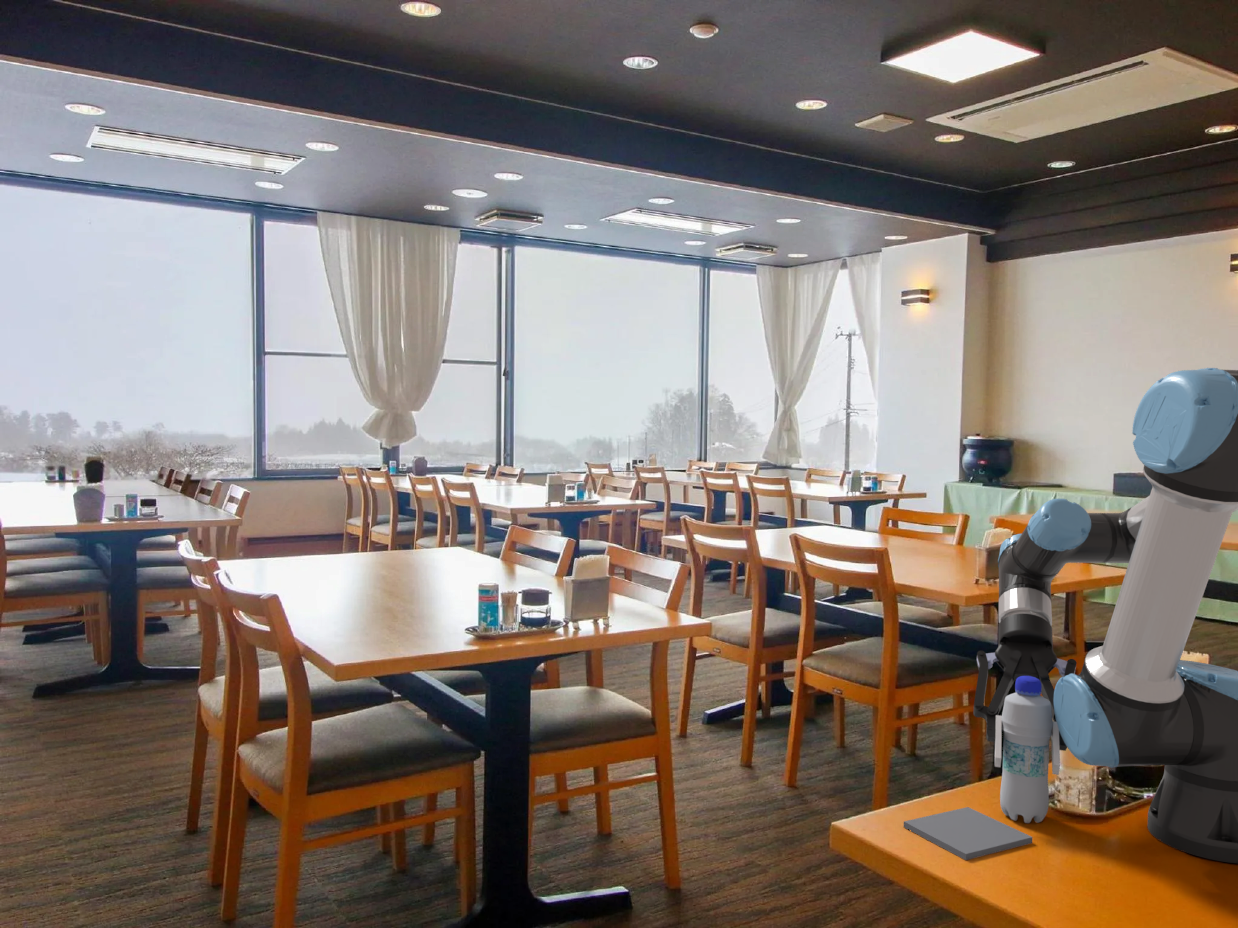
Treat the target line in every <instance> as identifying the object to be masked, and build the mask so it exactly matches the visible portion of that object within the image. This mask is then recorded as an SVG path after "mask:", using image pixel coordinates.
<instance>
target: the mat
mask: <svg viewBox="0 0 1238 928" xmlns="http://www.w3.org/2000/svg"><path fill="white" fill-rule="evenodd" d="M904 827H905V829H907V830H908V829H909V830H908V831H910V830H911V831H910V832H911V833H913V832H914V833H913V834H915V833H916V835H917V834H918V836H919V835H920V836H919V837H921V838H923V839H925V840H926V841H928V842H930V841H931V843H933V844H934V845H936V846H938V847H940V848H941V849H943V850H946V851H948V852H950V853H952V854H953V855H955V856H957V857H959V858H961V859H962V860H964V861H969V860H973V859H975V858H979V857H985V856H987V855H991V854H995V853H1000V852H1004V851H1006V850H1007V851H1008V850H1011V849H1014V848H1018V847H1022V846H1026V845H1030V844H1033V836H1031V835H1029V834H1027V833H1025V832H1022V831H1020V830H1018V829H1016V828H1014V827H1011V826H1009V825H1007V824H1005V823H1003V822H1001V821H999V820H997V819H995V818H993V817H991V816H988V815H986V814H984V813H982V812H980V811H977V810H976V809H973V808H971V807H968V806H965V807H962V808H957V809H953V810H948V811H944V812H939V813H935V814H930V815H927V816H922V817H918V818H914V819H909V820H905V821H903V828H904Z"/></svg>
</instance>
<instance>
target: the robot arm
mask: <svg viewBox="0 0 1238 928" xmlns="http://www.w3.org/2000/svg"><path fill="white" fill-rule="evenodd" d="M1133 417H1134V419H1133V422H1132V433H1131V434H1132V435H1133V436H1135V439H1134V440H1133V442H1132V445H1133V448H1134V451H1135V454H1136V456H1137V458H1138V460H1139V461H1140V462H1141V463H1142V464H1143V469H1142V471H1143V472H1142V473H1143V475H1144V476H1145V478H1146V479H1147V480H1148V482H1149V483H1150V484H1151V486H1152V488H1151V490H1150V494H1149V495H1148V496H1147V497H1145V498H1143V499H1142V500H1140V501H1139V502H1137V503H1136V504H1134V505H1132V506H1131V507H1130V508H1129V507H1128V508H1127V509H1126V510H1125V511H1122V512H1087V510H1086V509H1085V508H1084V507H1083V506H1081V505H1080V503H1077V502H1072V501H1069V500H1068V499H1067V498H1052V499H1049V500H1047V501H1046V502H1044V503H1043V504H1042V505H1041V506H1040V507H1039V509H1037V510H1036V512H1035V513H1034V514H1033V515H1032V516H1031V518H1030V519H1029V520H1028V523H1027V525H1026V526H1025V528H1024V530H1023V531H1022V533H1017V534H1013V535H1012V536H1011V537H1009V538H1006V539H1005V540H1003V541H1002V543H1001V545H1000V548H999V555H998V557H997V558H998V559H997V563H998V564H997V567H998V623H999V624H998V647H997V648H996V650H995V651H994V652H988V653H986V652H985V651H984V650H977V652H976V665H977V669H978V676H977V681H976V687H975V693H974V694H975V695H974V701H973V716H974V717H976V718H982V719H984V720H985V722H986V735H985V736H986V740H987V742H990V743H994V767H995V768H1001V766H1002V728H1001V726H1002V720H1001V718H1002V715H999V713H1000V712H1001V710H1002V708H1003V706H1004V701H1005V697H1006V696H1007V695H1009V691H1010V690H1011V688H1012V687H1013V685H1014V682H1016V679H1017V678H1018V677H1020V676H1032V677H1035V678H1037V679H1039V680H1040V682H1041V696H1042V697H1044V698H1045V699H1047V700H1049V701H1050V703H1051V712H1052V721H1053V727H1052V736H1051V737H1050V741H1051V763H1052V764H1051V766H1052V767H1051V768H1052V769H1051V771H1052V773H1051V774H1052V775H1056V776H1057V775H1059V774H1060V773H1059V772H1060V770H1061V751H1064V752H1065V751H1067V749H1068V751H1069V752H1070V753H1071V754H1072V756H1074V758H1076V759H1077V760H1079V761H1080V762H1081V763H1083V764H1085V765H1089V766H1094V767H1097V766H1099V767H1108V768H1110V769H1111V768H1112V769H1113V768H1117V767H1139V766H1140V767H1141V766H1142V767H1145V766H1164V771H1163V776H1162V779H1161V780H1160V783H1159V785H1158V787H1157V789H1156V791H1155V794H1154V796H1153V799H1152V801H1151V803H1150V806H1149V807H1148V810H1147V811H1148V812H1147V830H1148V832H1149V833H1150V834H1151V835H1152V836H1153V837H1154V838H1155V839H1157V840H1159V841H1160V842H1162V843H1163V844H1165V845H1167V846H1169V847H1171V848H1174V849H1176V850H1178V851H1181V852H1184V853H1186V854H1190V855H1191V856H1192V855H1193V856H1196V857H1200V858H1203V859H1207V860H1212V861H1218V862H1221V863H1222V862H1223V863H1231V864H1238V670H1235V669H1233V668H1228V667H1225V666H1219V665H1214V664H1210V663H1205V662H1199V661H1192V660H1184V659H1182V655H1183V653H1184V650H1185V648H1186V647H1185V646H1186V644H1187V641H1188V638H1189V636H1190V633H1191V630H1192V627H1193V625H1194V622H1195V619H1196V616H1197V613H1198V610H1199V607H1200V605H1201V603H1202V599H1203V597H1204V593H1205V590H1206V588H1207V584H1208V582H1209V580H1210V576H1211V574H1212V571H1213V568H1214V565H1215V563H1216V561H1217V557H1218V554H1219V552H1220V549H1221V545H1222V543H1223V540H1224V536H1225V534H1226V531H1227V528H1228V526H1229V523H1230V520H1231V517H1232V515H1233V513H1234V512H1236V511H1238V369H1220V368H1218V367H1204V368H1198V369H1187V370H1186V369H1184V370H1178V371H1173V372H1171V373H1169V374H1167V375H1166V376H1164V377H1162V378H1159V379H1158V380H1156V381H1155V382H1154V383H1153V385H1151V386H1150V387H1149V388H1148V389H1147V391H1146V392H1145V393H1144V395H1143V396H1142V398H1141V400H1140V402H1139V404H1138V406H1137V408H1136V411H1135V415H1134V416H1133ZM1068 563H1070V564H1073V563H1074V564H1075V563H1076V564H1077V563H1079V564H1093V563H1094V564H1097V563H1098V564H1100V563H1101V564H1127V568H1126V571H1125V574H1124V577H1123V581H1122V584H1121V587H1120V589H1119V594H1118V596H1117V599H1116V604H1115V607H1114V610H1113V613H1112V616H1111V619H1110V623H1109V625H1108V629H1107V632H1106V635H1105V638H1104V642H1103V645H1101V646H1098V647H1094V648H1093V649H1091V650H1089V651H1088V652H1087V654H1086V655H1085V658H1084V662H1083V665H1082V668H1081V672H1080V673H1079V674H1076V668H1077V664H1078V663H1077V660H1076V659H1074V658H1069V659H1068V660H1064V659H1061V658H1058V657H1057V654H1056V653H1055V652H1054V646H1053V645H1054V642H1053V641H1054V640H1053V626H1052V625H1053V616H1052V614H1053V613H1052V611H1053V610H1052V609H1053V608H1052V589H1051V588H1052V586H1051V585H1052V582H1053V580H1054V579H1055V577H1056V576H1057V575H1058V574H1059V573H1060V571H1061V570H1063V568H1064V566H1065V565H1066V564H1068ZM994 663H997V665H998V666H999V667H1000V668H1001V669H1002V671H1003V674H1002V677H1001V679H1000V681H999V684H998V685H997V688H996V690H995V692H994V694H993V697H992V698H991V701H990V702H989V705H988V706H986V705H985V697H986V691H987V683H988V678H989V677H988V676H989V670H991V668H993V664H994ZM1055 668H1056V669H1058V673H1059V675H1061V677H1060V678H1059V679H1058V680H1057V682H1056V684H1055V686H1053V683H1052V681H1051V679H1050V675H1049V674H1050V673H1051V671H1053V670H1054V669H1055Z"/></svg>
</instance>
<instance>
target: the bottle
mask: <svg viewBox="0 0 1238 928" xmlns="http://www.w3.org/2000/svg"><path fill="white" fill-rule="evenodd" d="M1014 682H1015V684H1014V690H1015V692H1013V693H1010V694H1007V696H1006V697H1005V701H1004V703H1003V706H1002V712H1001V716H1002V718H1001V720H1002V725H1001V731H1002V732H1003V747H1002V750H1003V751H1002V773H1001V783H1000V793H999V800H1000V801H999V802H1000V809H1001V811H1002V813H1003V814H1004V815H1005V816H1007V817H1009V818H1010V819H1011V820H1013V821H1015V822H1016V821H1018V818H1019V817H1018V816H1022V818H1023V822H1024V824H1030V823H1031V822H1032V819H1033V821H1034V822H1035V823H1041V822H1043V820H1044V819H1045V817H1046V816H1047V814H1048V810H1049V803H1050V798H1049V797H1050V795H1049V760H1050V759H1049V758H1050V740H1051V736H1052V727H1053V721H1054V720H1053V718H1052V712H1051V703H1050V701H1049V700H1047V699H1045V698H1044V697H1043V696H1042V693H1041V682H1040V680H1039V679H1037V678H1035V677H1032V676H1020V677H1018V678H1017V679H1016V681H1014Z"/></svg>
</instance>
